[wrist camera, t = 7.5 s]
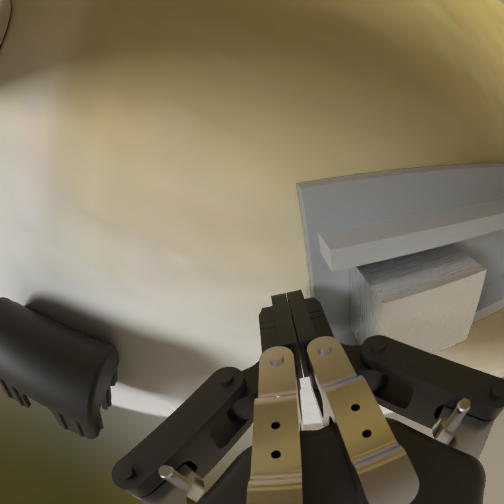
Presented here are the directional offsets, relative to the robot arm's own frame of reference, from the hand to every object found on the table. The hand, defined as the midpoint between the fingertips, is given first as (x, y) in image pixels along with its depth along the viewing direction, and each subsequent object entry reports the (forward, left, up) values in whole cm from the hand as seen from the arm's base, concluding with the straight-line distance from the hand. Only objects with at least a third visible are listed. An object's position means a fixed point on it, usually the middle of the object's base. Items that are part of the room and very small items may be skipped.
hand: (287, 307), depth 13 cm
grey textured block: (0, +7, -1) cm, 7 cm away
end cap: (+2, -16, -2) cm, 17 cm away
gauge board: (0, +13, -2) cm, 13 cm away
